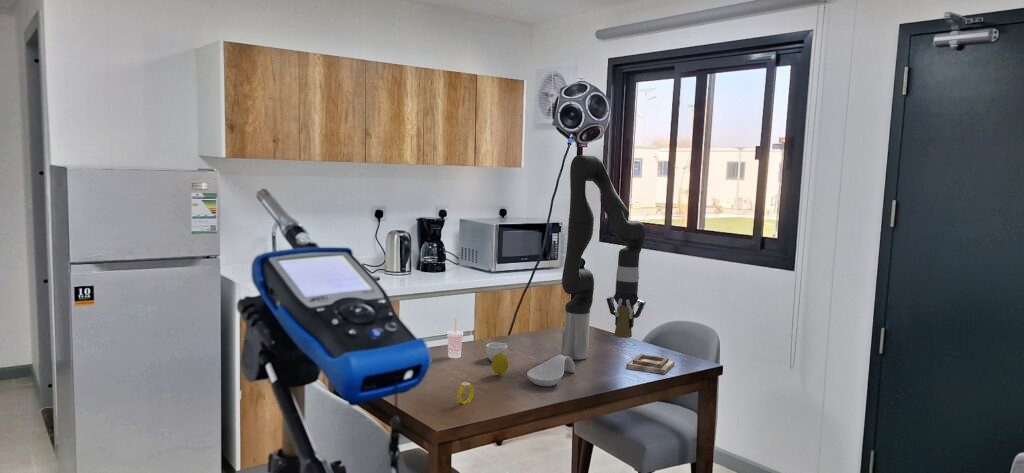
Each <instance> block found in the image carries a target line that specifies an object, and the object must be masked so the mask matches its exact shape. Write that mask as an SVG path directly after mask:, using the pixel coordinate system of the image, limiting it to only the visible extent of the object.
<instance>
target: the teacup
mask: <svg viewBox="0 0 1024 473" xmlns="http://www.w3.org/2000/svg"><path fill="white" fill-rule="evenodd" d="M485 350H486V356H487V358H488V359H489V360H490V361H492V360H493V357H494V356H495V355H496V354H498V353H500V352H502V353H503V354H505V355H506V356H507V354H508V345H507V343H504V342H489V343H487V344H486V345H485Z"/></svg>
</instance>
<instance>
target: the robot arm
mask: <svg viewBox="0 0 1024 473" xmlns="http://www.w3.org/2000/svg"><path fill="white" fill-rule="evenodd" d="M569 181H570V182H569V184H570V189H569V190H570V194H569V195H570V196H569V198H570V200H569V214H568V224H567V239H566V240H567V241H566V251H565V258H564V265H563V270H562V276H561V285H562V290H563V291H564V293H565V294H567V295H574V296H573V298H572V299H571V300H569V301H567V302H566V304H565V308H564V309H565V310H564V311H565V312H564V329H563V331H562V332H561V333H562V334H561V353H560V355H563V356H565V357H566V356H569V357H571V358H572V360H585V359H588V357H589V340H590V338H589V336H590V320H591V319H590V318H591V317H590V315H591V308H592V305H593V301H594V298H593V297H594V290H595V279H594V275H593V273H592V271H591V270H590V269H588V268H581V266H580V264H581V260H582V257H583V255H584V252H585V250H586V249H587V247H588V246H589V244H590V242H591V240H592V237H593V234H594V222H595V219H594V218H595V217H594V214H593V210H592V208H591V206H590V204H589V202H588V199H587V193H586V192H587V191H586V185H587V184H586V183H587V182H593V183H594V184H595V185H596V187H597V188H598V189H599V194H600V195H599V198H600V200H599V201H600V205H601V207H602V210H603V211H604V212H605V214H606V216H607V217H608V218H609V220H610V224H611V226H612V230H613V233H614V235H615V238H617V239H618V240H619V241H620V242H624V243H627V245H626V246H625V247H624V248H621V249H620V250H619V251H618V257H617V258H618V259H617V270H616V276H615V277H616V278H615V292H614V294H613V296H609V297H607V298H606V302H607V306H608V309H609V313H610V315H613V316H614V317H615V318H614V320H615V321H614V322H615V323H614V325H615V326H616V324H617V320H618V316H619V313H618V311H617V310H618V307H619V306H621V305H626V306H627V307H628V309H629V312H630V314H629V329H630V328H631V329H633V328H634V325H635V324H634V322H635V321H634V320H635V319H638V318H639V317H640V316H641V314H642V312H643V310H644V308H645V306H646V301H642V300H640V299H639V295H638V291H639V279H640V276H639V275H640V270H639V267H640V266H639V264H640V254H641V251H642V248H643V246H644V242H645V239H646V227H645V225H644V223H643V222H641V221H640V220H639V221H638V220H628V218H629V216H630V211H629V209H628V207H627V206H626V205H625V203H624V202H623V200H622V199H621V197H620V195H618V193H617V191H616V189H615V187H614V185H613V183H612V179H611V178H610V176H609V174H608V171H607V169H606V167H605V165H604V163H603V161H602V160H601V159H600V158H599V157H598V156H595V155H585V154H584V155H580V154H579V155H575V156H574V157H573V158H572V160H571V163H570V170H569ZM614 302H615V303H616V305H617V307H615V304H614ZM636 304H637V310H636V312H635V305H636ZM631 308H632V309H631Z"/></svg>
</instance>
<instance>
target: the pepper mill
mask: <svg viewBox="0 0 1024 473" xmlns="http://www.w3.org/2000/svg"><path fill="white" fill-rule="evenodd" d="M631 309H632V308H631ZM616 311H618V313H619V316H618V320H617V324H616V325H615V330H614V336H615V337H617V338H622V339H625V338H626V339H629V338H632V337H633V334H632V333H633V332H632V331H633V330H632V328H630V329H629V314H630V312H629V309H628V307H627V306H626V305H621V306H619V307H618V310H617V309H616Z"/></svg>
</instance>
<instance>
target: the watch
mask: <svg viewBox="0 0 1024 473" xmlns="http://www.w3.org/2000/svg"><path fill="white" fill-rule="evenodd" d="M465 388H469V394H468V398H467V399H466V400H464V401H463V400H462V394H463V392H464V390H465ZM474 390H475V389H474V387H473V385H472V384H471V383H470V382H467V381H464V382H461V384H460V387H459V388H458V391H457V394H456V395H457V396H456V398H457V402H458V403H459V404H462V405H467V404H469V403H471V401H472V400H473V397H474V395H475V394H474V393H475V391H474Z"/></svg>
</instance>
